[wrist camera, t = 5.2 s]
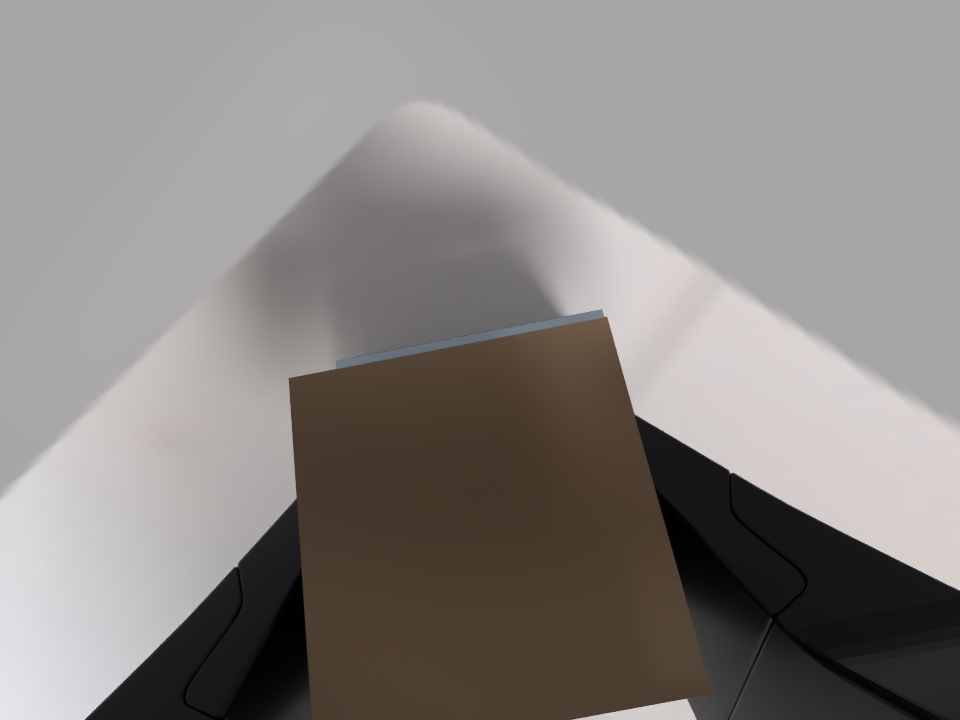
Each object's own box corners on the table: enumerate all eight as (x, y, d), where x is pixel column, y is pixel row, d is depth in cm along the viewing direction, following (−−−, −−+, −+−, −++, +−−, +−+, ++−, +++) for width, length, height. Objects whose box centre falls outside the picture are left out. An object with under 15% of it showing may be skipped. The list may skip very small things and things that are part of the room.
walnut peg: (565, 526, 13) (711, 693, 4) (444, 549, 13) (315, 767, 4) (538, 404, 14) (607, 316, 5) (425, 426, 14) (289, 378, 5)
